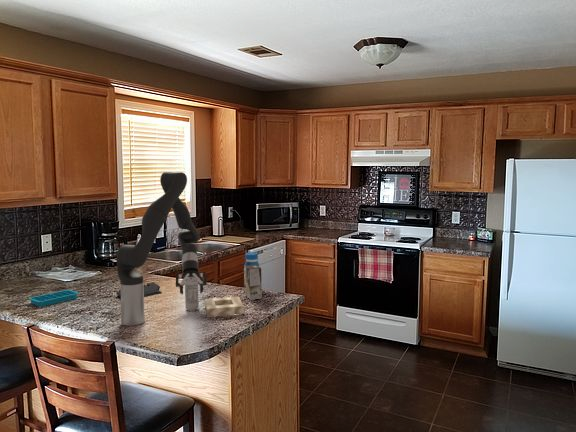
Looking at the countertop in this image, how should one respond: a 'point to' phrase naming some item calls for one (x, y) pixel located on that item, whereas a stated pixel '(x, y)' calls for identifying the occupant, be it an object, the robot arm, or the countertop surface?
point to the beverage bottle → (250, 261)
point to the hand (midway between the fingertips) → (191, 293)
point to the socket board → (223, 306)
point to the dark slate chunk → (148, 289)
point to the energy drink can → (191, 294)
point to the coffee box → (253, 282)
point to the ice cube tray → (54, 297)
